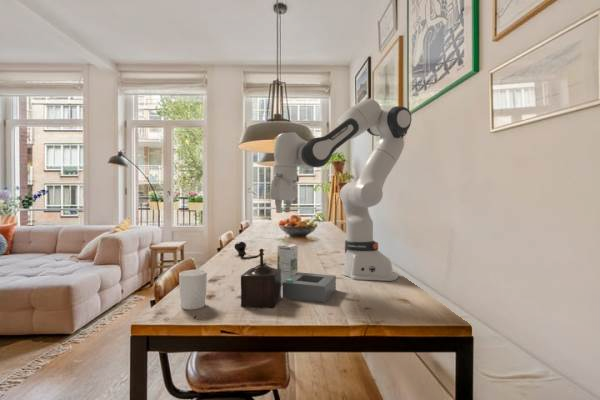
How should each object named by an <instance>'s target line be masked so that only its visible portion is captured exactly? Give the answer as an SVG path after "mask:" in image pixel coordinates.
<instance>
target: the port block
mask: <svg viewBox="0 0 600 400" xmlns="http://www.w3.org/2000/svg"><path fill="white" fill-rule="evenodd" d="M336 279H337V277H336V275H331V274H322V273H321V274H319V273H311V272H310V273H309V272H298V271H297V273H296V274H295V275H293V276H292V277H290V278H288V279H287V280H285V281H284V282H283V285H282V298H283V299H289V300H290V299H291V300H298V301H306V302H307V301H308V302H314V303H324V304H325V303H326V302H327V301H328V300H329V298H330V297H331V296H332V295H333V294H334V293H335V291H337V290H336V289H337V287H336V286H337V281H336Z"/></svg>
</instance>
